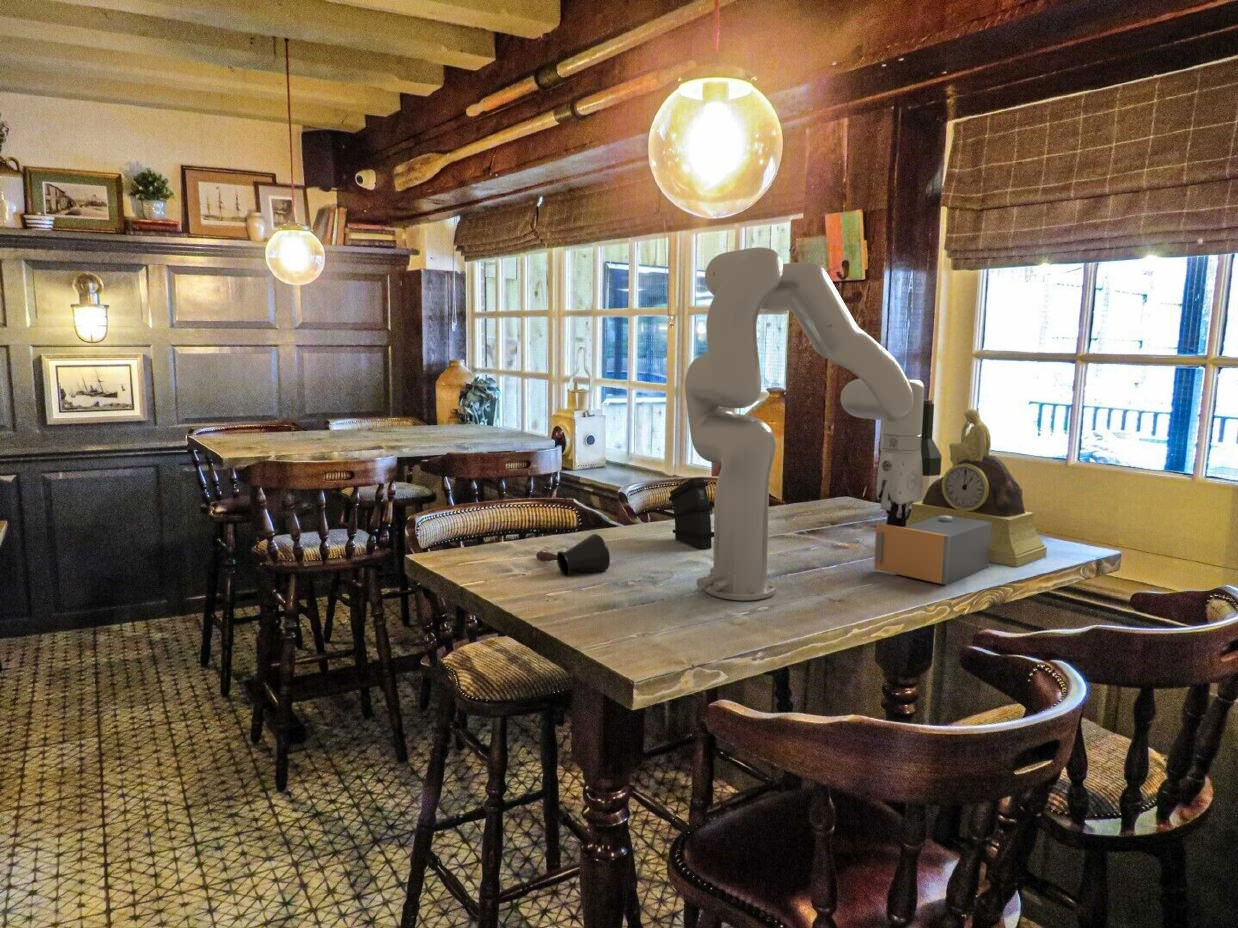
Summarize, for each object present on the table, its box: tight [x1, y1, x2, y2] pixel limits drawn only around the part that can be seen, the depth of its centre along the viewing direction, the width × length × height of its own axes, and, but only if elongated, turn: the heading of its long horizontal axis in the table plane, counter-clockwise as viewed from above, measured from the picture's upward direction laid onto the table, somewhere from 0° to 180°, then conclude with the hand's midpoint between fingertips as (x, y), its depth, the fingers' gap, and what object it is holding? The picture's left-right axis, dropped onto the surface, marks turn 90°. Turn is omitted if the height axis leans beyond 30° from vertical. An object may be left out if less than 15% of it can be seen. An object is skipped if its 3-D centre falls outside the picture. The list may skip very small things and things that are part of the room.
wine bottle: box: [904, 399, 943, 521], centre depth 205 cm, size 8×8×30 cm
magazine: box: [668, 476, 714, 551], centre depth 189 cm, size 4×13×15 cm, turn 27°
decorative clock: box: [906, 408, 1048, 568], centre depth 183 cm, size 28×13×30 cm, turn 40°
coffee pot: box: [535, 533, 611, 577], centre depth 171 cm, size 8×18×8 cm
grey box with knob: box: [896, 515, 992, 586], centre depth 168 cm, size 20×10×10 cm, turn 133°
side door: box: [873, 522, 950, 585], centre depth 161 cm, size 2×14×9 cm, turn 43°
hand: (895, 536), depth 168 cm, fingers closed
